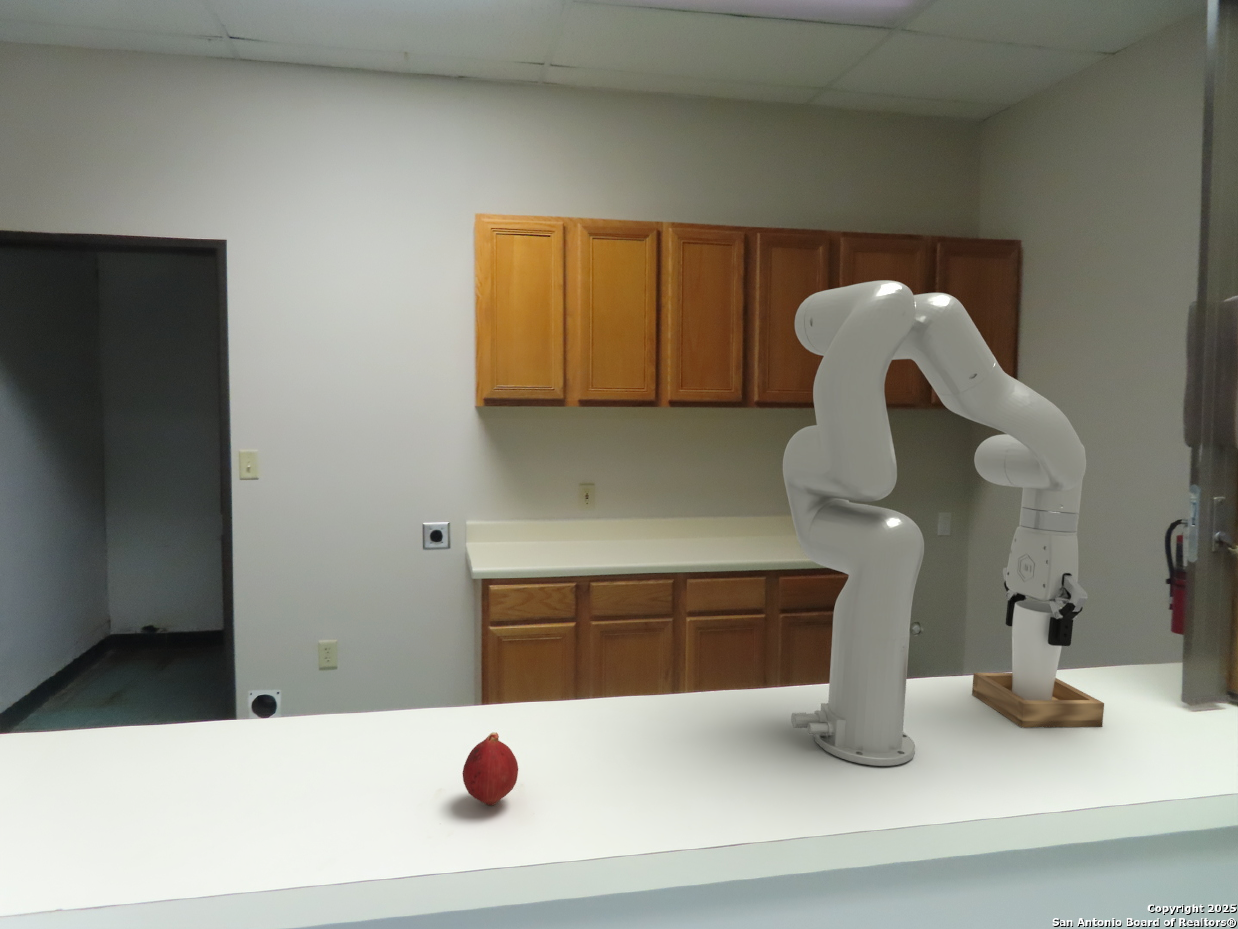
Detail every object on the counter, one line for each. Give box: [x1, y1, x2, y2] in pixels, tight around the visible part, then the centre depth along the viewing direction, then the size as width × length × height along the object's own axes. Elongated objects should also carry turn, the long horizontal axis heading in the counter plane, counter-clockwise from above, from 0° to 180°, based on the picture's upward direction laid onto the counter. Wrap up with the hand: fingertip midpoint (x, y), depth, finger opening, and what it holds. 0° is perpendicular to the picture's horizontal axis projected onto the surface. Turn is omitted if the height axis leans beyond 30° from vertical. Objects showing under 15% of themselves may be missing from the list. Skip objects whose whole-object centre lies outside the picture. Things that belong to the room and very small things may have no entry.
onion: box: [462, 731, 519, 806], centre depth 81 cm, size 6×6×8 cm
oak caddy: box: [971, 672, 1105, 729], centre depth 113 cm, size 12×12×4 cm
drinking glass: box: [1011, 599, 1063, 700], centre depth 113 cm, size 7×7×15 cm
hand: (1036, 635), depth 112 cm, fingers open, 9 cm apart
